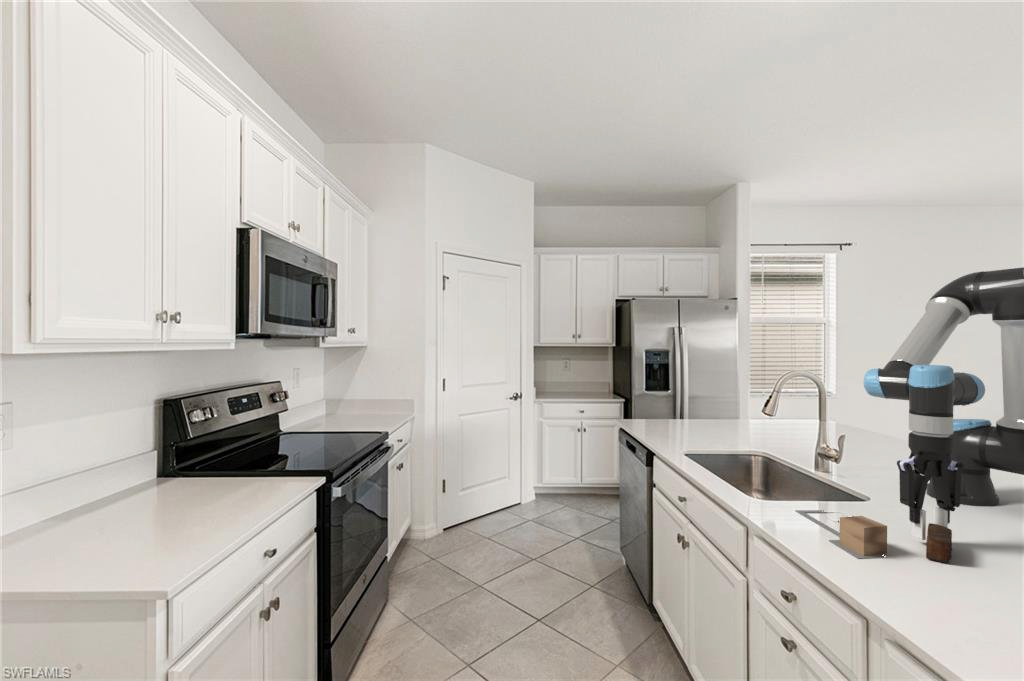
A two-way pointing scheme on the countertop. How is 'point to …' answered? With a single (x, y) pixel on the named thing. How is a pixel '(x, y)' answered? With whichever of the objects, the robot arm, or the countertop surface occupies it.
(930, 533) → the brick
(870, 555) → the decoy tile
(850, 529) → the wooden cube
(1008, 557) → the countertop surface
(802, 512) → the frame
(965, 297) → the robot arm
